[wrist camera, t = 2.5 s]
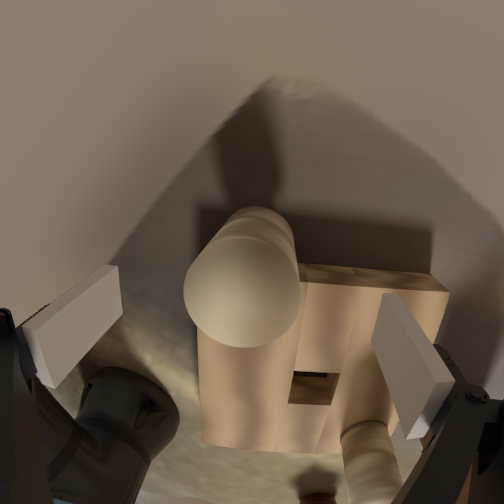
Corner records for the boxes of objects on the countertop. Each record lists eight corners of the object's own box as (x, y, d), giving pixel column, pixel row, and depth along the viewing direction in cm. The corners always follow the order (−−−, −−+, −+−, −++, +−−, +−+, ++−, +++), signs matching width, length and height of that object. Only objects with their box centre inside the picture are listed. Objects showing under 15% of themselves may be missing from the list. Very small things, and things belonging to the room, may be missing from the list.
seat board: (209, 417, 39) (183, 511, 24) (209, 254, 32) (149, 340, 16) (375, 425, 37) (397, 515, 22) (430, 273, 30) (511, 353, 15)
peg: (228, 256, 31) (184, 340, 17) (231, 195, 30) (182, 234, 15) (288, 261, 31) (293, 353, 16) (295, 200, 29) (309, 245, 14)
